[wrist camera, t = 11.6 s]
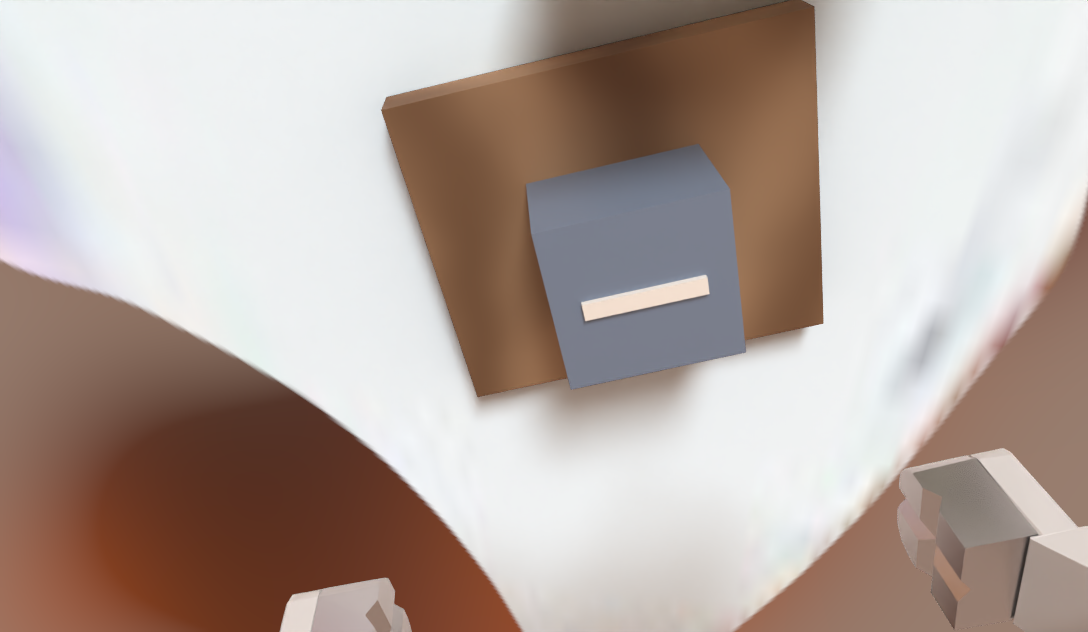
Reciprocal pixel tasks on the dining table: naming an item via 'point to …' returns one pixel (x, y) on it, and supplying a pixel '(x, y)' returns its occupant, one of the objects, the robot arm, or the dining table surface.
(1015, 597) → the robot arm
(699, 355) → the grey drawer unit
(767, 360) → the dining table surface
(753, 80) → the board
